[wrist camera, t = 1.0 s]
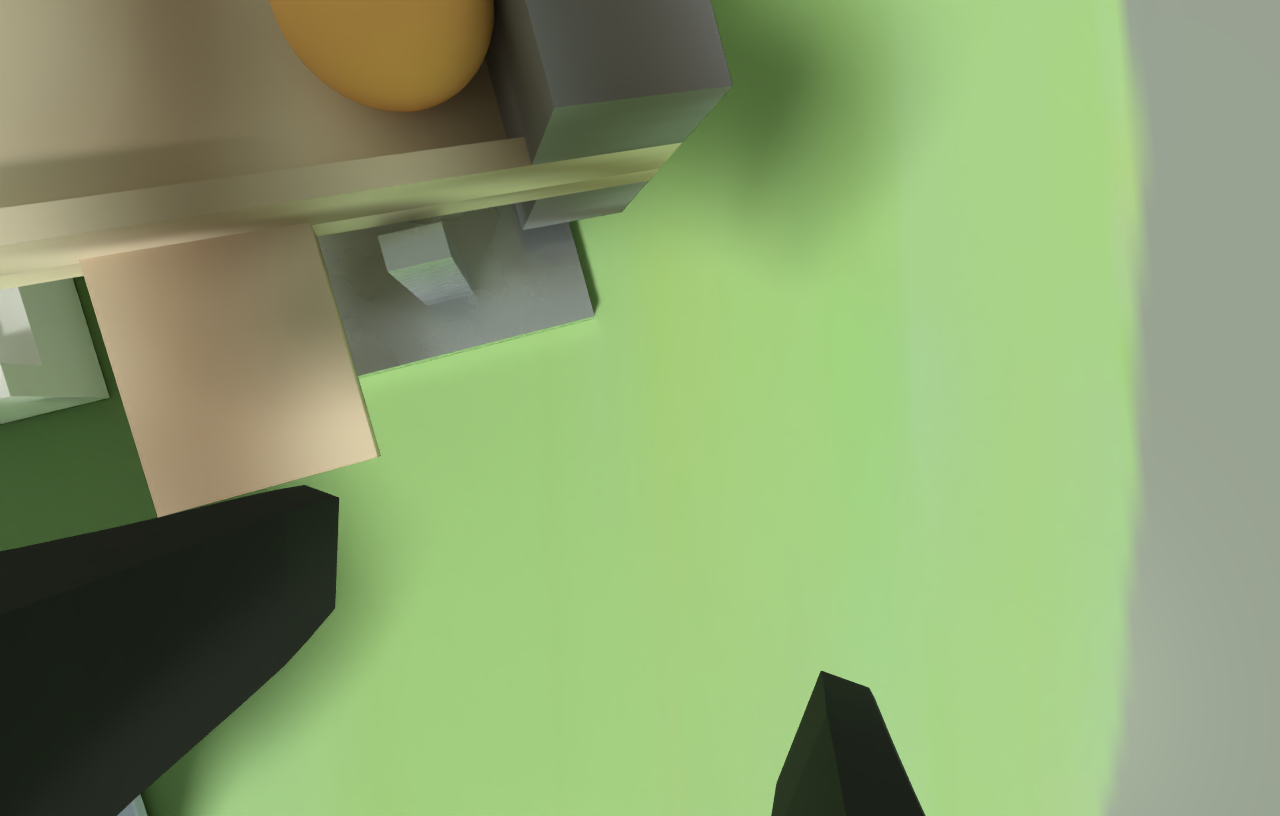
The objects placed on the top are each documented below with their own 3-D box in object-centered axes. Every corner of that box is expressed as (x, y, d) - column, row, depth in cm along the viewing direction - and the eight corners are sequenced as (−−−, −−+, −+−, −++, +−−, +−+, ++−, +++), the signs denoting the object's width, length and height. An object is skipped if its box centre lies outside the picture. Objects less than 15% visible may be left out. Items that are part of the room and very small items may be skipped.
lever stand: (192, 420, 19) (46, 427, 13) (67, 8, 18) (-138, -164, 13) (592, 318, 21) (612, 287, 15) (489, -62, 20) (470, -240, 14)
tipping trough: (560, -15, 19) (639, -276, 12) (665, 377, 19) (799, 344, 12) (-282, 38, 13) (-1054, -396, 6) (-103, 586, 14) (-637, 739, 7)
